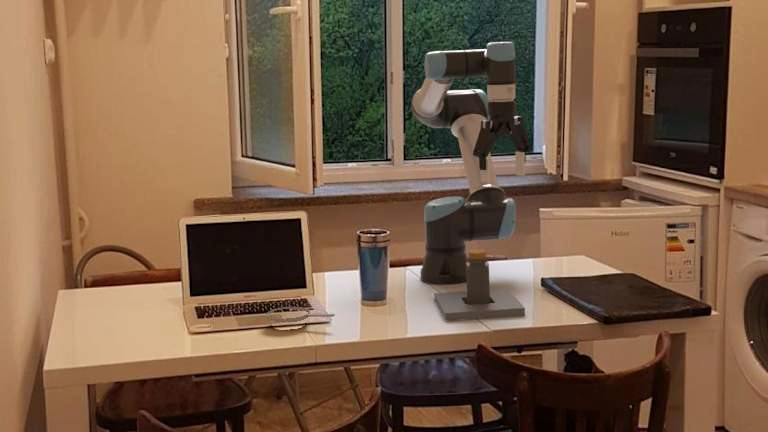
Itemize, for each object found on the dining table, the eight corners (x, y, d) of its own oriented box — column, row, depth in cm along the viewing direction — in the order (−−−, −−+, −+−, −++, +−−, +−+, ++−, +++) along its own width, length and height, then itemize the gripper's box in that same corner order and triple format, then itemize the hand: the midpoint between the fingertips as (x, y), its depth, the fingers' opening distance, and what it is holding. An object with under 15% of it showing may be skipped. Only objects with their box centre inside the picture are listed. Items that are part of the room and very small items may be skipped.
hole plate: (445, 321, 246) (445, 313, 246) (434, 300, 266) (434, 293, 266) (524, 315, 248) (524, 307, 248) (508, 295, 268) (507, 288, 267)
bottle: (488, 310, 254) (487, 253, 251) (465, 310, 255) (464, 253, 252) (491, 304, 259) (489, 248, 257) (468, 304, 260) (467, 248, 258)
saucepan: (279, 318, 256) (278, 304, 255) (343, 323, 249) (343, 308, 248) (259, 330, 246) (258, 315, 245) (325, 335, 239) (325, 320, 238)
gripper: (478, 104, 256) (480, 185, 260) (543, 97, 271) (544, 173, 275) (458, 103, 262) (460, 183, 266) (523, 96, 277) (524, 171, 281)
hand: (503, 178), depth 271 cm, fingers open, 13 cm apart
